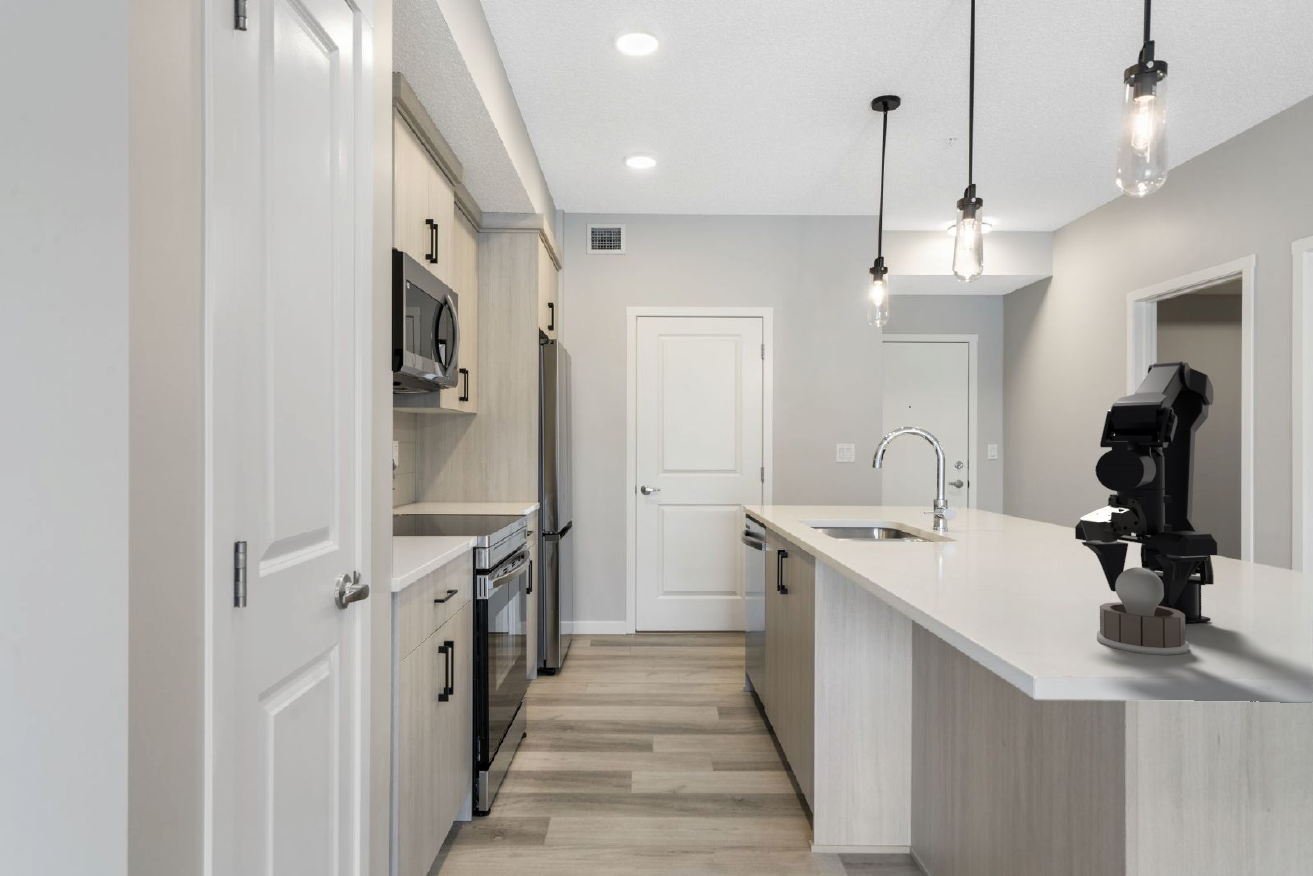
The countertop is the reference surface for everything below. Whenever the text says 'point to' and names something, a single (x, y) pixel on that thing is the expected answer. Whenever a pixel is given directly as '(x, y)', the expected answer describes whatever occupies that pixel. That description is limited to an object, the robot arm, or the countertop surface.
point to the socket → (1143, 630)
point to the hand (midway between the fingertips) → (1141, 597)
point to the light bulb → (1139, 591)
